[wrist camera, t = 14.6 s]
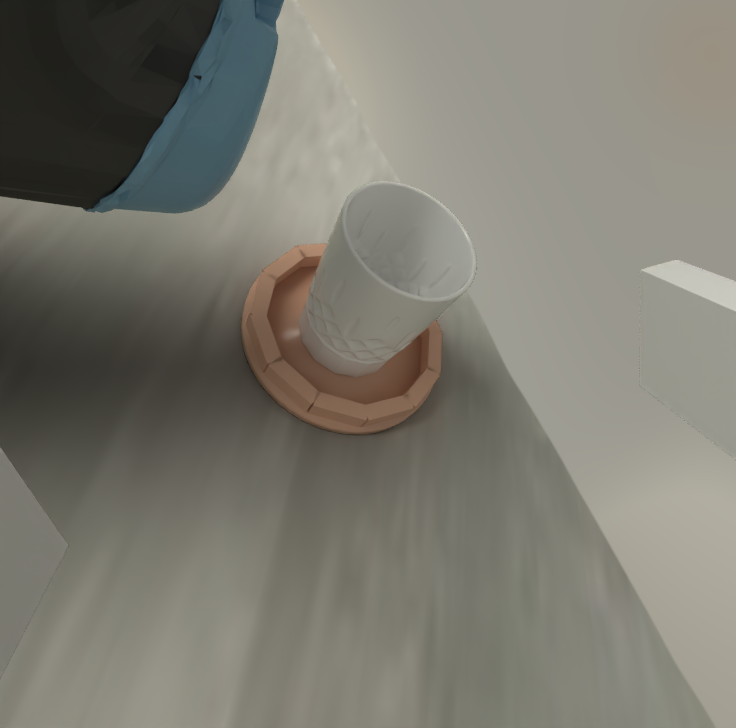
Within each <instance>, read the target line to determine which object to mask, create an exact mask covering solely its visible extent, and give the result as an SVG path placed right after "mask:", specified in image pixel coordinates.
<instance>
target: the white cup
mask: <svg viewBox="0 0 736 728" xmlns="http://www.w3.org/2000/svg"><path fill="white" fill-rule="evenodd" d="M476 269H477V260H476V253H475V249H474V246H473V244H472V241H471V238H470V236H469V234H468V233H467V231H466V229H465V228H464V226H463V225H462V224H461V222H460V221H459V220H458V218H457V217H456V216H455V215H454V214H453V213H452V212H451V211H450V210H449V209H448V208H447V207H446V206H444V205H443V204H442V203H441V202H439V201H438V200H437V199H435V198H434V197H432V196H430V195H429V194H427V193H425V192H423V191H421V190H419V189H417V188H415V187H412V186H409V185H406V184H402V183H398V182H391V181H377V182H371V183H367V184H364V185H362V186H360V187H358V188H357V189H355V190H354V191H353V192H352V193H351V194H350V195H349V196H348V197H347V199H346V200H345V202H344V205H343V207H342V209H341V212H340V214H339V217H338V219H337V221H336V224H335V226H334V229H333V231H332V233H331V236H330V238H329V240H328V243H327V245H326V247H325V250H324V252H323V254H322V256H321V259H320V262H319V265H318V267H317V270H316V272H315V274H314V277H313V281H312V283H311V285H310V287H309V295H308V298H307V300H306V302H305V305H304V307H303V310H302V313H301V315H300V318H299V321H298V322H299V328H300V334H301V340H302V343H303V344H304V346H305V347H306V348H307V350H308V351H309V353H310V354H311V356H312V357H313V359H314V360H315V361H317V362H318V363H320V364H321V365H323V366H324V367H326V368H327V369H329V370H330V371H332V372H333V373H336V374H341V375H346V376H351V377H360V376H364V375H368V374H372V373H376V372H377V371H378V370H379V369H380V368H381V367H382V366H383V365H384V364H385V363H386V362H387V361H388V360H389V359H390V358H392V357H393V356H394V355H395V354H397V353H398V352H400V351H402V350H403V349H404V348H405V347H406V346H407V345H409V344H410V343H411V342H412V341H413V340H414V339H415V338H416V337H417V336H418V335H420V334H421V333H422V332H423V331H425V330H426V329H427V328H428V327H429V326H430V325H431V324H432V323H433V322H434V321H435V320H436V319H437V318H438V317H439V316H440V315H441V314H442V313H443V312H444V311H445V310H446V309H447V308H448V307H449V306H451V305H452V304H453V303H454V302H455V301H456V300H457V299H458V298H459V297H460V296H461V295H462V294H463V293H464V292H465V291H466V290H467V289H468V288H469V287H470V285H471V284H472V282H473V280H474V277H475V274H476Z"/></svg>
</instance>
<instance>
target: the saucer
mask: <svg viewBox="0 0 736 728" xmlns="http://www.w3.org/2000/svg"><path fill="white" fill-rule="evenodd" d="M326 245H327V243H326V244H311V245H297V246H295V247H294V248H292V249H291V250H290V251H288V252H287V253H285V254H284V255H283V256H281V257H280V258H278V259H277V260H276V261H274V262H273V263H272V264H270V265H269V266H267V267H266V268H265V269H263V270H262V272H261V274H260V276H259V277H258V278H257V279H256V280H255V282H254V284H253V285H252V287H251V289H250V291H249V294H248V296H247V299H246V301H245V304H244V307H243V312H242V317H241V337H242V344H243V348H244V352H245V356H246V358H247V361H248V363H249V365H250V368H251V370H252V371H253V373H254V375H255V377H256V378H257V380H258V381H259V383H260V384H261V385H262V387H263V388H264V389H265V391H266V392H267V393H268V394H269V395H270V396H271V397H272V398H273V399H274V400H275V401H276V402H277V403H278V404H279V405H280V406H282V407H283V408H284V409H285V410H287V411H288V412H289V413H291V414H292V415H294V416H296V417H297V418H299V419H300V420H302V421H304V422H306V423H308V424H311V425H313V426H315V427H318V428H321V429H324V430H327V431H331V432H336V433H341V434H352V435H361V434H371V433H376V432H381V431H384V430H387V429H389V428H392V427H394V426H396V425H398V424H399V423H401V422H403V421H404V420H405V419H407V418H408V417H409V416H410V415H412V414H413V413H414V412H415V411H416V410H417V409H418V408H419V407H420V406H421V405H422V404H423V403H424V402H425V400H426V399H427V397H428V395H429V394H430V392H431V390H432V387H433V385H434V383H435V381H436V380H437V379H438V378H439V376H440V374H441V355H442V333H441V332H442V331H441V328H440V326H439V324H438V322H437V320H435V321H434V322H433V323H432V324H431V325H430V326H429V327H428V328H427V329H426V330H425V331H423V332H422V333H421V334H420V335H418V336H417V337H416V338H415V339H414V340H413V341H412V342H411V343H410V344H409V345H407V346H406V347H405V348H404V349H403V350H402V351H400V352H398V353H397V354H395V355H394V356H393V357H392V358H390V359H389V360H388V361H387V362H386V363H385V364H384V365H383V366H382V367H381V368H380V369H379V370H378V371H377V372H376V373H372V374H368V375H364V376H360V377H351V376H346V375H341V374H336V373H333V372H332V371H330V370H329V369H327V368H326V367H324V366H323V365H321V364H320V363H318V362H317V361H315V360H314V359H313V357H312V356H311V354H310V353H309V351H308V350H307V348H306V347H305V346H304V344H303V343H302V340H301V334H300V328H299V322H298V321H299V318H300V315H301V313H302V310H303V307H304V305H305V302H306V300H307V298H308V295H309V287H310V285H311V283H312V281H313V277H314V274H315V272H316V270H317V267H318V265H319V262H320V259H321V256H322V254H323V252H324V250H325V247H326Z"/></svg>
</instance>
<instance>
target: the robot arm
mask: <svg viewBox="0 0 736 728" xmlns="http://www.w3.org/2000/svg"><path fill="white" fill-rule="evenodd" d="M283 2H284V0H0V196H2V197H9V198H16V199H23V200H31V201H38V202H45V203H52V204H59V205H67V206H74V207H81V208H83V209H84V210H85V211H88V212H95V211H97V212H101V213H103V212H107V211H110V210H113V209H123V210H136V211H149V212H162V213H183V212H188V211H192V210H194V209H197V208H200V207H202V206H204V205H206V204H207V203H208V202H210V201H211V200H212V199H213V198H214V197H215V196H216V195H217V194H219V193H220V191H221V190H222V189H223V188H224V186H225V185H226V184H227V182H228V181H229V180H230V178H231V176H232V175H233V173H234V171H235V169H236V167H237V166H238V164H239V162H240V160H241V158H242V156H243V153H244V151H245V149H246V147H247V144H248V142H249V139H250V137H251V134H252V132H253V129H254V126H255V123H256V121H257V118H258V115H259V112H260V109H261V105H262V102H263V99H264V96H265V93H266V89H267V86H268V83H269V79H270V75H271V71H272V67H273V64H274V59H275V55H276V50H277V44H278V34H277V32H276V20H277V18H278V16H279V14H280V11H281V8H282V5H283ZM639 385H640V387H642V388H643V389H644V390H646V391H647V392H648V393H649V394H651V395H652V396H653V397H655V398H656V399H658V401H660V402H661V403H662V404H664V405H665V406H666V407H668V408H669V409H670V410H671V411H673V412H674V413H675V414H677V415H678V416H679V417H681V418H682V419H683V420H684V421H686V422H687V423H688V424H690V425H691V426H692V427H693V428H695V429H696V430H698V431H699V432H700V433H701V434H703V435H704V436H706V438H708V439H709V440H710V441H712V442H713V443H714V444H716V445H717V446H718V447H720V448H721V449H722V450H723V451H725V452H726V453H727V454H728V455H730V456H731V457H732V458H734V459H735V460H736V282H735V281H733V280H730V279H728V278H725V277H722V276H719V275H717V274H714V273H711V272H709V271H706V270H703V269H701V268H698V267H695V266H693V265H690V264H687V263H684V262H682V261H679V260H673V261H670V262H666V263H662V264H659V265H655V266H651V267H648V268H644V269H641V270H640V384H639ZM67 547H68V545H67V543H66V542H65V540H64V539H63V537H62V536H61V534H60V533H59V531H58V530H57V529H56V527H55V526H54V524H53V523H52V521H51V520H50V518H49V517H48V516H47V514H46V513H45V511H44V510H43V508H42V507H41V505H40V504H39V503H38V501H37V500H36V498H35V497H34V495H33V494H32V492H31V491H30V489H29V488H28V487H27V485H26V484H25V482H24V481H23V479H22V478H21V476H20V475H19V474H18V472H17V471H16V469H15V468H14V466H13V465H12V463H11V462H10V461H9V459H8V458H7V456H6V455H5V453H4V452H3V450H2V449H1V447H0V679H1V677H2V675H3V673H4V671H5V669H6V667H7V665H8V663H9V661H10V659H11V657H12V655H13V653H14V651H15V649H16V647H17V645H18V643H19V641H20V639H21V637H22V636H23V634H24V632H25V630H26V628H27V626H28V624H29V622H30V620H31V618H32V616H33V614H34V612H35V610H36V608H37V606H38V604H39V602H40V600H41V598H42V596H43V594H44V592H45V591H46V589H47V587H48V585H49V583H50V581H51V579H52V577H53V575H54V573H55V571H56V569H57V567H58V565H59V563H60V561H61V559H62V557H63V555H64V553H65V551H66V549H67Z"/></svg>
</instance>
